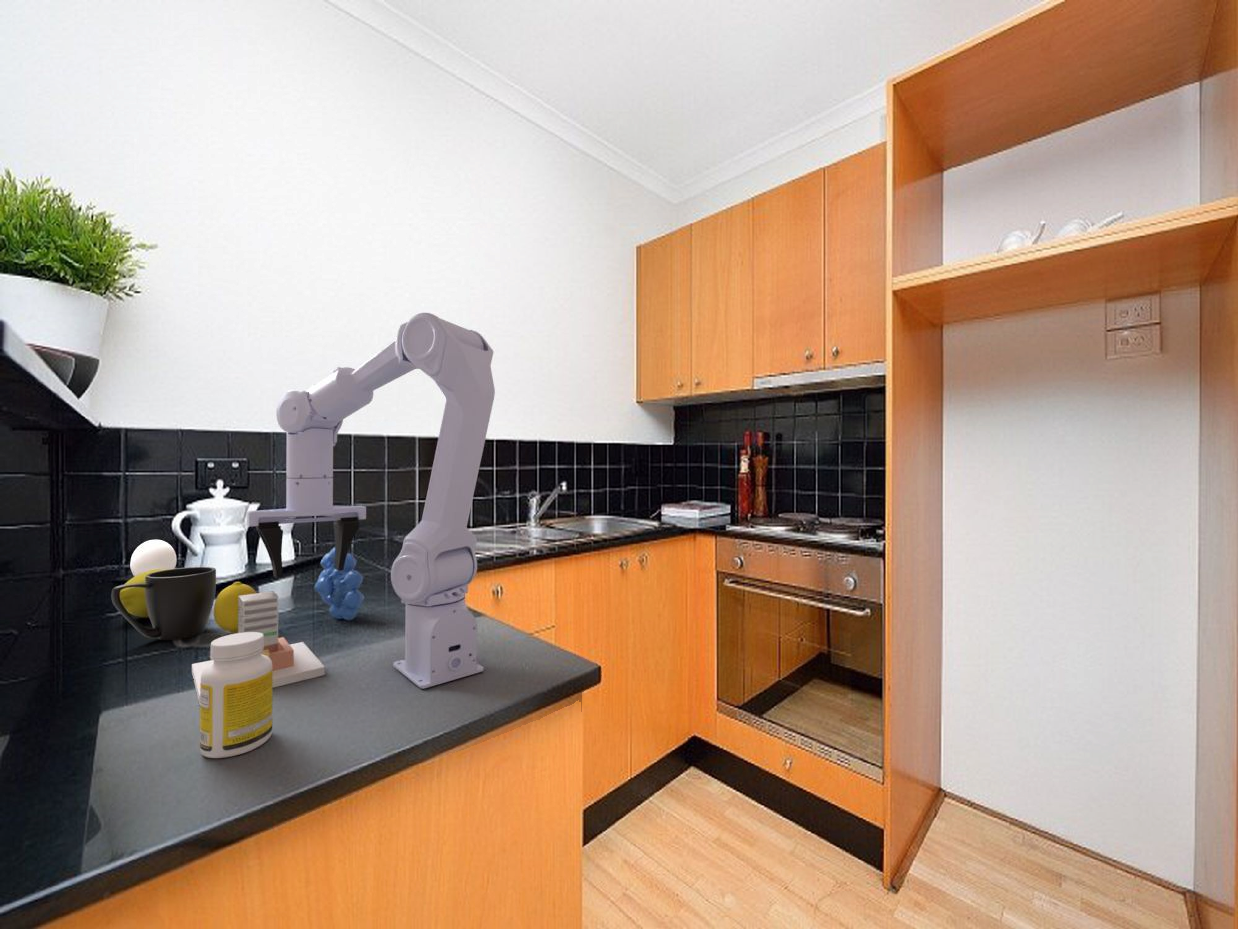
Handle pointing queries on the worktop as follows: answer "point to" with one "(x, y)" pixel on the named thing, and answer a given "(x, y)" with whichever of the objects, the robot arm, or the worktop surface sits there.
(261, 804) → the worktop surface
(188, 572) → the mug
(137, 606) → the lemon
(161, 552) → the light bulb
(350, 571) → the grapes
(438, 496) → the robot arm
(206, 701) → the supplement bottle
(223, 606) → the lemon
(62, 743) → the worktop surface
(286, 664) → the stand base
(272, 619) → the column
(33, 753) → the worktop surface
